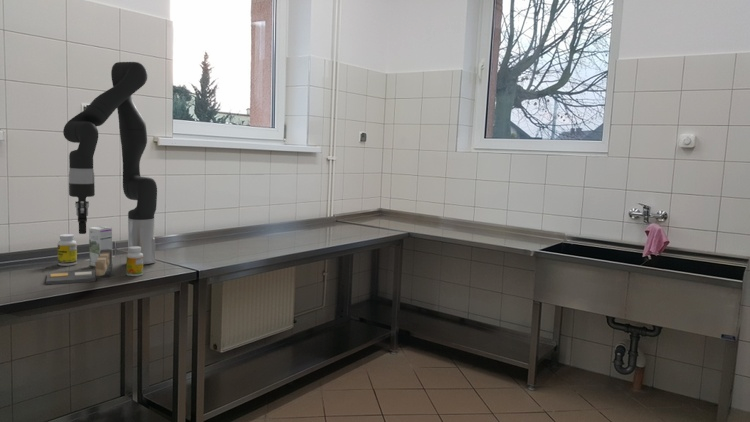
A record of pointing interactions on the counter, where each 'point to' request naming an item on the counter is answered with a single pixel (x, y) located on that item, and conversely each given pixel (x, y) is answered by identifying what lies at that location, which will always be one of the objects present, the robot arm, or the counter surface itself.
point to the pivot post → (108, 271)
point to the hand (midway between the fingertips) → (82, 233)
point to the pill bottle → (67, 250)
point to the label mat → (70, 276)
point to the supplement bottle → (134, 261)
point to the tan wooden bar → (103, 261)
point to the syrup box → (99, 242)
